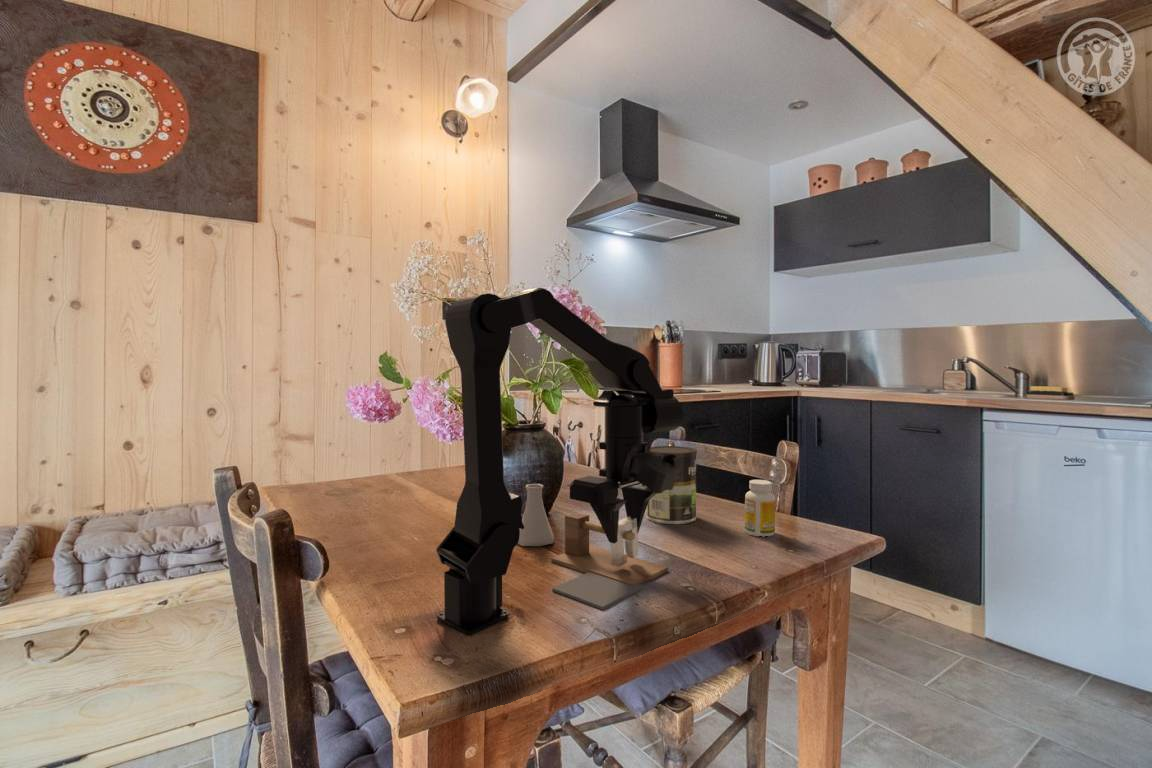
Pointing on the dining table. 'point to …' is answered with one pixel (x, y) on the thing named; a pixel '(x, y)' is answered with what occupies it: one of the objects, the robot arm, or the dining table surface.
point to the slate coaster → (596, 590)
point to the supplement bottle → (760, 509)
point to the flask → (535, 520)
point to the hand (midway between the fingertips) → (623, 538)
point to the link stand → (601, 554)
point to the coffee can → (676, 490)
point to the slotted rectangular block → (630, 545)
